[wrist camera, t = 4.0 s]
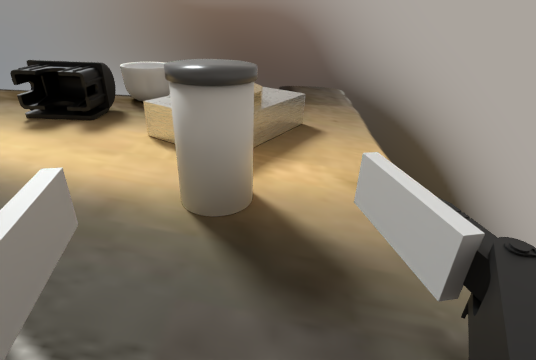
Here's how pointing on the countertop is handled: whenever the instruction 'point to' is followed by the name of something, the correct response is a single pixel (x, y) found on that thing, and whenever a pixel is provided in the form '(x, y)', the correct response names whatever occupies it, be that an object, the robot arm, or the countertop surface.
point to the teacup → (145, 80)
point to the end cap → (65, 89)
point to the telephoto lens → (213, 133)
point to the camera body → (265, 114)
